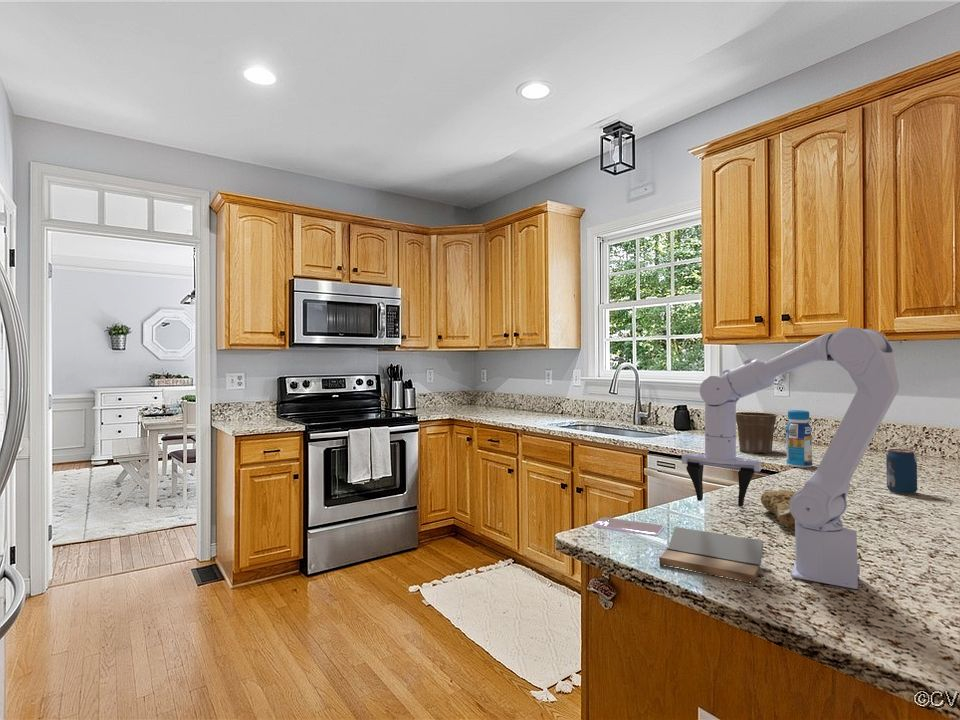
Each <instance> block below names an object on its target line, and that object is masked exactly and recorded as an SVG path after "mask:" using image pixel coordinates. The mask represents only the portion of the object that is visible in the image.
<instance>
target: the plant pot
mask: <svg viewBox="0 0 960 720" xmlns="http://www.w3.org/2000/svg"><path fill="white" fill-rule="evenodd" d="M777 417H778V414H777V413H771V412H770V413H768V412H756V411H755V412H753V411H751V412H750V411H739V412H736V427H737V436H738V444H739V451H741V452H744V453H749V454H759V453H761V454H771V453H772V452H773V443H774V432H775V425H776V422H777V421H776V420H777Z"/></svg>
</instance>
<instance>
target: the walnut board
mask: <svg viewBox="0 0 960 720" xmlns="http://www.w3.org/2000/svg"><path fill="white" fill-rule="evenodd" d="M658 561H659V563H658V564H660V565H659V566H661V565H666V566H673V567H679V568H684V569H688V570H692V571H696V572H701V573H706V574H711V575H717V576H723V577H728V578H732V579H737V580H741V581H746V582H751V583H755V584H756V582H757V579H758V577H759V575H758V573H759V574H760V570H759V564H756V563H750V562H745V561H739V560H734V559H728V558H722V557H717V556H711V555H706V554H700V553H694V552H689V551H683V550H678V549H672V548H668V547H666V549H665V551H664V552H663V553H662V554H661V555H659V560H658ZM666 566H665V567H666ZM696 572H695V573H696ZM701 573H700V574H701ZM706 574H705V575H706ZM711 575H710V576H711ZM757 576H758V577H757ZM756 578H757V579H756ZM741 581H740V582H741ZM755 581H756V582H755ZM746 582H745V583H746ZM751 583H750V584H751Z"/></svg>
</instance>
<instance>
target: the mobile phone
mask: <svg viewBox="0 0 960 720" xmlns="http://www.w3.org/2000/svg"><path fill="white" fill-rule="evenodd" d="M608 520H609V521H608ZM605 521H607V522H605ZM602 522H604V523H602ZM592 526H593V527H594V528H598V529H599V528H600V529H605V530H610V531H611V530H613V531H620V532H627V533H633V534H638V535H646V536H653V537H654V536H655V537H657V535H658V536H660V534H661V533H662V532H663V531H664V530H665V527H664V526H663V524H662V525H660V524H655V523H647V522H643V521H642V522H640V521H634V520H627V519H620V518H613V517H605V516H604V517H603V516H602V517H600V518H599V519H597V520H596V521H595V522H594V523H592Z"/></svg>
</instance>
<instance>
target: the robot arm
mask: <svg viewBox="0 0 960 720" xmlns="http://www.w3.org/2000/svg"><path fill="white" fill-rule="evenodd" d="M819 361H820V362H821V361H822V362H823V361H824V362H836V364H838V365H839V366H841V367H842V368H843V369H844V370H845V371H847V373H848V375H849V376H850V377H851V378H850V379H852V382H853V383H854V385H855V386H856V389H857V390H856V391H855V392H856V393H855V394H854V396H853V397H852V399H851V402H850V404H849V406H848V408H847V410H846V412H845V414H844V415H843V417H842V419H841V421H840V423H839V425H838V427H837V429H836V431H835V433H834V435H833V437H832V439H831V441H830V443H829V445H828V447H827V448H826V451H825V453H824V455H823V456H822V459H821V461H820V462H819V465H818V466H817V469H816V470H815V471H814V472H813V474H811V476H809V478H808V479H807V480H806V481H805V484H804V485H803V487H802V488H801V489H800V490H798V491H796V492H797V493H795V494H794V495H793V496H792V497H791V499H790V502H789V509H790V512H791V514H792V516H793V517H794V519H795V529H794V537H795V538H794V539H795V541H794V544H795V561H794V564H793V568H792V570H791V571H792V572H791V577H792V578H795V579H801V580H805V581H811V582H816V583H822V584H826V585H827V584H828V585H833V586H837V587H843V588H849V589H853V590H858V588H859V587H858V586H859V583H858V579H859V578H858V577H859V576H860V574H861V571H860V570H861V567H860V563H858V541H857V540H858V536H857V535H858V532H857V530H855V529H850V528H846V527H844V524H843V521H842V519H841V517H842V516H843V514H845V512H846V511H847V507H848V501H847V497H848V492H849V491H850V489H851V480H852V478H853V476H854V474H855V472H856V470H857V468H858V466H859V465H860V462H861V461H862V459H863V457H864V455H865V453H866V451H867V450H868V448H869V446H870V444H871V442H872V440H873V438H874V437H875V435H876V433H877V431H878V429H879V428H880V426H881V423H882V422H883V420H884V418H885V416H886V414H887V412H888V410H889V409H890V407H891V405H892V404H893V401H894V399H895V398H896V395H897V393H898V392H899V388H900V386H899V385H900V383H899V380H898V372H897V368H896V362H895V348H894V347H893V346H892V345H891V343H890V341H889V340H888V339H887V337H886V336H885V335H884V334H883V333H882V332H880V331H879V330H875V329H872V328H860V327H859V328H858V327H855V326H849V327H844V328H841V329H838V330H837V331H835V332H830V333H826V334H822V335H820V336H818V337H815V338H813V339H811V340H809V341H807V342H804V343H803V344H801V345H799V346H797V347H794V348H792V349H790V350H788V351H786V352H784V353H782V354H779V355H777V356H775V357H773V358H771V359H769V360H767V361H766V360H763V359H761V358H755V359H753V358H747V359H745V360H743V364H742V365H740V366H736V367H735V368H733V369H731V370H729V369H725V370H722V374H721V376H718V375H709V376H708V377H707V378H706V379H704V380H703V381H702V382H701V384H700V386H699V395H700V398H701V399H702V400H703V402H704V453H687V452H683V453H682V454H681V464H685V465H686V466H685V467H686V472H687V474H688V475H689V476H690V477H689V478H690V479H691V482H692V485H693V487H694V491H695V494H696V501H698V502H701V501H702V500H703V498H704V488H703V481H704V480H703V477H704V475H703V474H704V466H707V467H708V466H709V467H717V468H718V467H720V468H727V469H739V471H738V472H737V475H738V477H737V478H738V498H737V503H738V504H737V505H738V507H741V508H743V507H744V504H745V498H746V494H747V490H748V488H749V486H750V482H751V480H752V479H753V477H754V475H755V473H756V472H757V473H758V472H761V470H762V461H761V459H753V458H746V457H739V456H737V422H736V413H737V412H736V411H737V403H738V401H739V400H740V399H743V398H745V397H747V396H749V395H752V394H754V393H757V392H759V391H763V390H765V389H767V388H769V387H771V386H773V384H774V382H775V380H776V378H777V377H779V376H781V375H784V374H788V373H789V372H791V371H794V370H797V369H799V368H803V367H806V366H808V365H811V364H814V363H817V362H819ZM858 575H859V576H858Z"/></svg>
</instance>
